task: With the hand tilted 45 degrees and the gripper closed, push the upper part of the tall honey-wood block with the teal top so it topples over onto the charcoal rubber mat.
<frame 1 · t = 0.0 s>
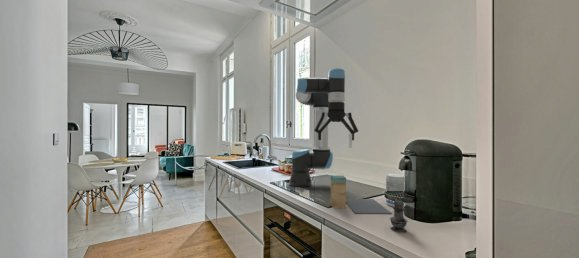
hand: (335, 147, 114), 28 cm above the worktop, tool pointing down, fingers open, 13 cm apart
mat: (365, 206, 116), on the worktop
supplement tub: (396, 205, 118), on the worktop
tall block: (337, 206, 116), on the worktop
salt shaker: (398, 230, 88), on the worktop
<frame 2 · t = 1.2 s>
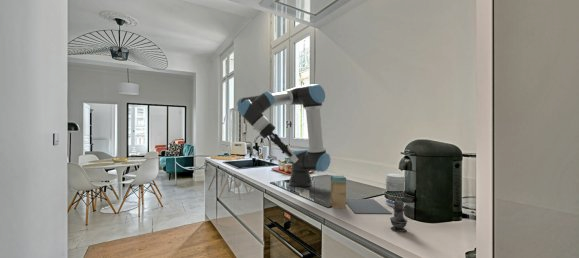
hand: (295, 159, 116), 22 cm above the worktop, tool tilted 45°, fingers open, 13 cm apart
nothing on the worktop moved.
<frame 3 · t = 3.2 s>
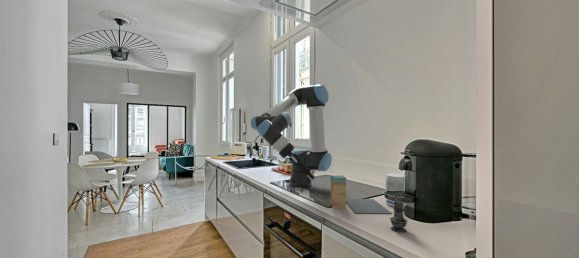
hand: (318, 182, 115), 11 cm above the worktop, tool tilted 45°, fingers closed
nothing on the worktop moved.
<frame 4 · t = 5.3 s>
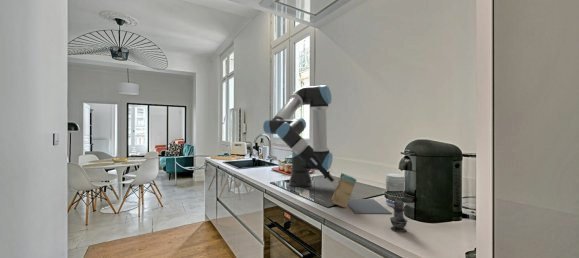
hand: (337, 185, 115), 10 cm above the worktop, tool tilted 45°, fingers closed
tall block: (338, 203, 116), point 1 cm above the worktop, tilted 21°
everything else where it was.
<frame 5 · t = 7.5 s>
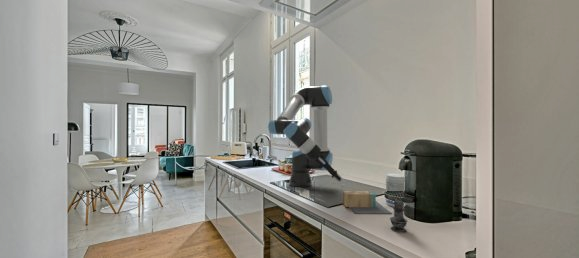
hand: (344, 184, 116), 10 cm above the worktop, tool tilted 45°, fingers closed
tall block: (344, 198, 116), point 3 cm above the worktop, tilted 90°, touching mat
everything else where it was.
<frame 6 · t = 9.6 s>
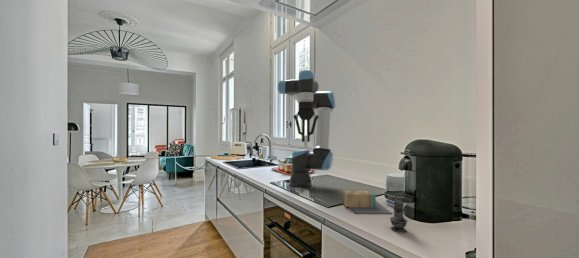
hand: (305, 148, 123), 27 cm above the worktop, tool pointing down, fingers closed
nothing on the worktop moved.
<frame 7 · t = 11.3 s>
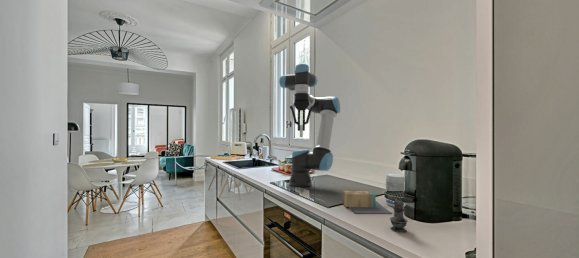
hand: (301, 136, 131), 32 cm above the worktop, tool pointing down, fingers closed
nothing on the worktop moved.
at the end: tall block tilted 90°; tall block touching mat; tall block inside the target area (3.5 cm from its centre), point 3.4 cm above the worktop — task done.
